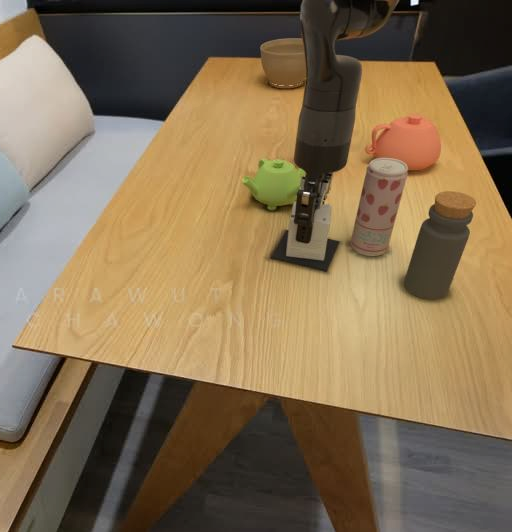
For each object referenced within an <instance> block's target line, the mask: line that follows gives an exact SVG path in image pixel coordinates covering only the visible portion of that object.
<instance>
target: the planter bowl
mask: <svg viewBox="0 0 512 532" xmlns="http://www.w3.org/2000/svg"><path fill="white" fill-rule="evenodd" d="M259 50H260V61H261V66H262V69H263V72H264V75H265V76H266V78H267V79H268V81H269V82H268V83H269V85H270V86H271V87H273V88H277V89H293V88H298V87H301V86H302V85H303V84H304V82H305V80H306V65H305V56H304V48H303V41H302V38H296V37H295V38H294V37H289V38H278V39H273V40H269V41H266V42H264V43H262V44H261V45H260V48H259ZM303 81H304V82H303ZM270 82H271V83H270ZM302 82H303V83H302ZM272 83H273V84H272ZM300 83H301V84H300ZM274 84H277V85H274ZM297 84H298V85H297ZM279 85H284V86H279ZM289 85H293V86H289Z"/></svg>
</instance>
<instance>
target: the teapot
mask: <svg viewBox="0 0 512 532" xmlns="http://www.w3.org/2000/svg"><path fill="white" fill-rule="evenodd" d="M305 173H306V172H305V171H304V170H302V169H300V168H299V167H298V169H297V168H296V166H295V164H294V163H292V162H290V161H286V160H284V159H282V158H276V159H273V160H269V159H268V158H261V159H259V161H258V170H257V171H256V172H255V174H254V175H253V178H251V176H249V175H246V176H244V177H242V180H241V182H242V184H243V185H244V186H245V187H246V188H247V189H248V190H250V193H251V195H252V196H253V198H254V199H255V200H256V201H258V202H259V203H261V204H264V205H267V206H266V208H267V210H270V211H275V210H276V209H277V207H280V206H281V207H282V206H287V205H294V201H296V200H297V192H298V190H301V187H300V182H301V178H302V176H304V177H305Z"/></svg>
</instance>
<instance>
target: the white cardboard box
mask: <svg viewBox="0 0 512 532" xmlns="http://www.w3.org/2000/svg"><path fill="white" fill-rule="evenodd" d="M315 204H317V203H315ZM332 207H333V205H332V204H328V203H327V204H326V203H324V204H322V207H321V209H319V210H317V213H316V217H315V223H314V224H313V230H312V237H311V241H310V243H308V244H306V243H301V242H297V241H296V233H297V226H298V224H294V218H295V209H296V200H295V201H294V204H292V208H291V209H292V210H291V212H290V213H291V214H290V216H289V223H288V230H289V231H288V240H287V250H286V256H289V257H298V258H306V259H314V260H322V261H323V260H324V257H325V251H326V245H327V239H329V233H330V228H331V220H332ZM302 215H307V216H308V214H304V213H303V214H302Z"/></svg>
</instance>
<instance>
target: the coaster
mask: <svg viewBox="0 0 512 532" xmlns="http://www.w3.org/2000/svg"><path fill="white" fill-rule="evenodd" d="M288 231H289V229H285V232H284V233H283V234H282V237H281V238H280V240H279V241H278V243H277V245H276V246H275V249H274V250H273V252H272V253H271V256H270V259H271V260H275V261H279V262H283V263H287V264H292V265H295V266H300V267H304V268H309V269H312V270H317V271H321V272H325V273H327V272H328V270H329V267H330V265H331V263H332V260H333V258H334V256H335V253H336V252H337V250H338V248H339V247H338V246H339V245H340V240H338V239H332V238H328V239H327V245H326V251H325V257H324V260H323V261H322V260H314V259H306V258H298V257H289V256H286V250H287V240H288Z"/></svg>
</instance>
